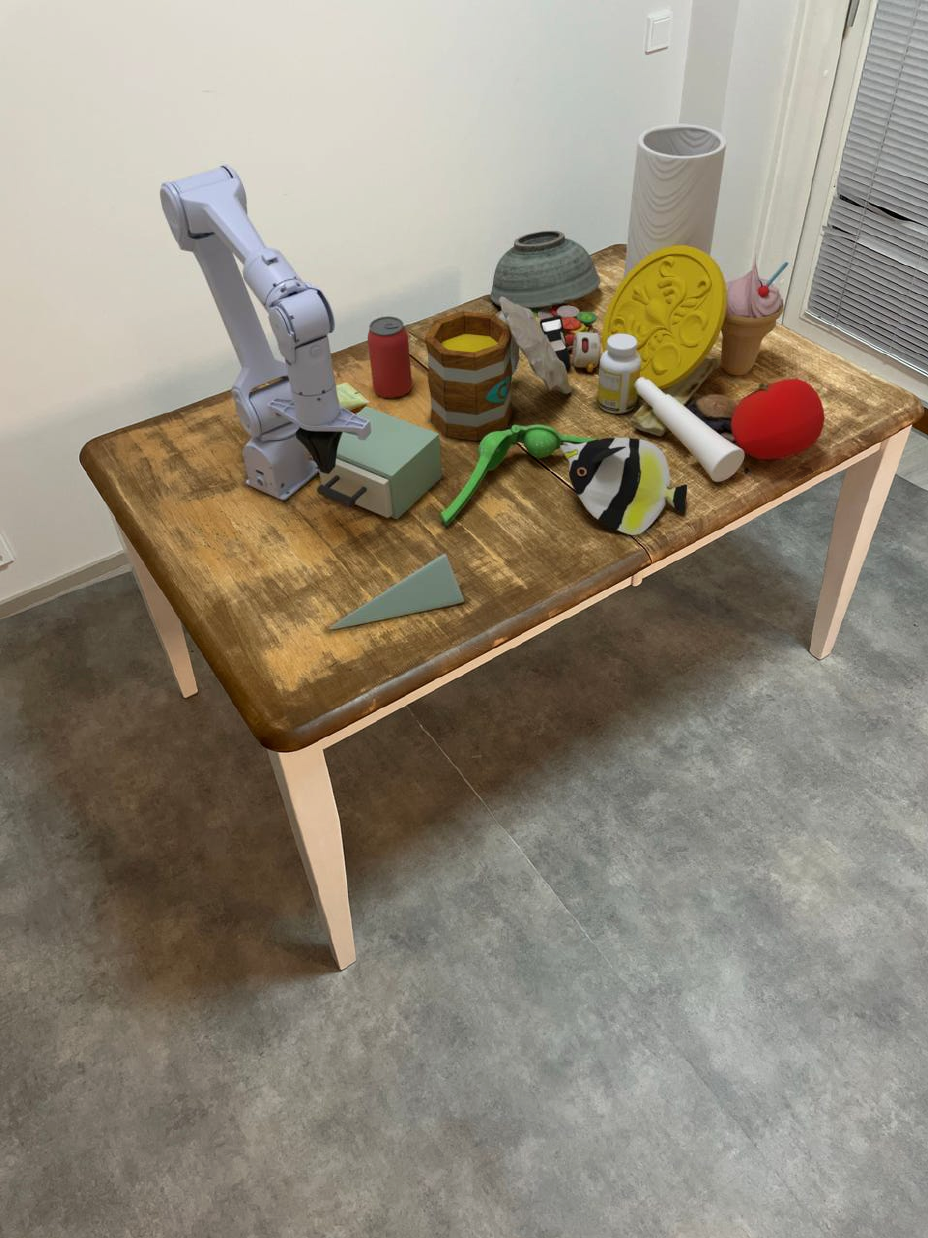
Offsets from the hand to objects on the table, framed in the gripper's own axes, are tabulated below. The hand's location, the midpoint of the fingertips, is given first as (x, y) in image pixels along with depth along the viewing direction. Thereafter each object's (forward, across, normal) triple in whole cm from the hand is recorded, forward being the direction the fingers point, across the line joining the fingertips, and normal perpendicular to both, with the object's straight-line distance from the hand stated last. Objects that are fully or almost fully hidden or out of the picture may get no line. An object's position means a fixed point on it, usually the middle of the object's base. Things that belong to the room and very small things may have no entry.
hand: (327, 468), depth 133 cm
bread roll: (+10, -44, -45) cm, 64 cm away
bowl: (-1, -2, -73) cm, 73 cm away
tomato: (+9, -56, -38) cm, 69 cm away
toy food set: (+10, -11, -60) cm, 62 cm away
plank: (+10, -34, -49) cm, 60 cm away
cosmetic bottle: (+8, -49, -31) cm, 59 cm away
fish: (+3, -35, -27) cm, 44 cm away
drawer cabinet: (+10, -2, -11) cm, 15 cm away
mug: (+10, -8, -35) cm, 37 cm away
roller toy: (+10, -19, -53) cm, 57 cm away
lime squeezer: (+10, -21, -22) cm, 32 cm away
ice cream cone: (+10, -43, -61) cm, 76 cm away
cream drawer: (+10, -1, -7) cm, 12 cm away
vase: (+10, -26, -71) cm, 77 cm away
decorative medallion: (+1, -31, -56) cm, 64 cm away
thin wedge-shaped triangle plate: (+11, -17, +12) cm, 23 cm away
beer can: (+10, +9, -34) cm, 37 cm away
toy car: (+8, -13, -53) cm, 56 cm away
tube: (+8, +22, -12) cm, 26 cm away
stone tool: (+10, -20, -45) cm, 50 cm away
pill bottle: (+11, -28, -44) cm, 53 cm away
